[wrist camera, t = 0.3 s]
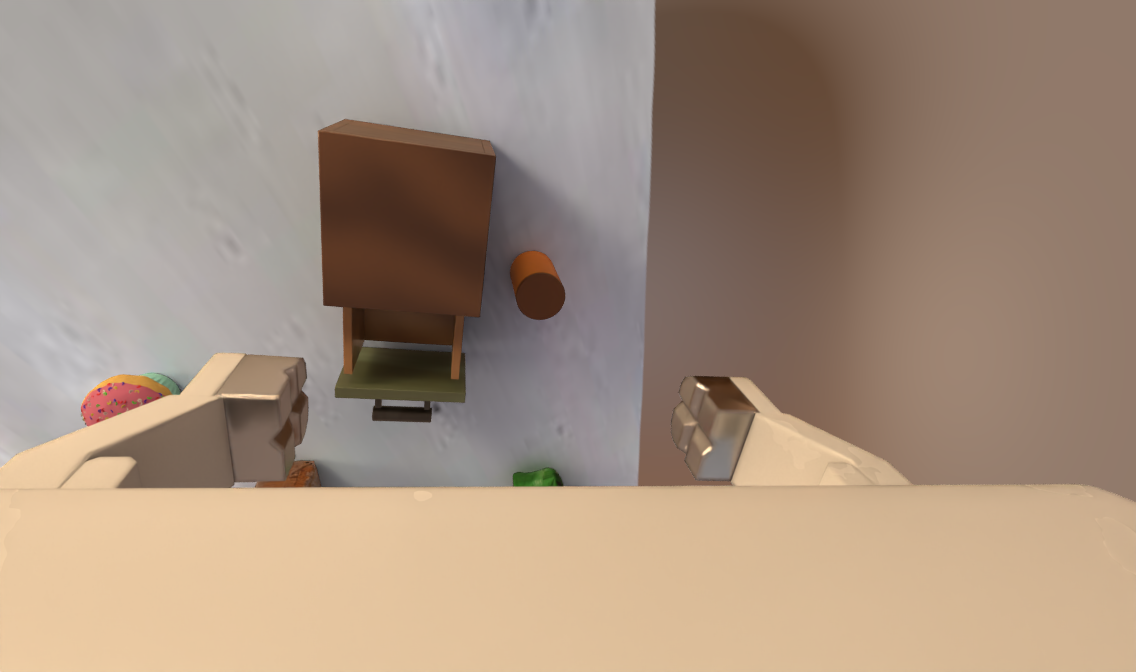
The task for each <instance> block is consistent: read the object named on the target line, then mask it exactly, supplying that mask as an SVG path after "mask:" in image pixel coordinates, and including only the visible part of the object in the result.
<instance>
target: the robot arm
mask: <svg viewBox="0 0 1136 672" xmlns="http://www.w3.org/2000/svg"><path fill="white" fill-rule="evenodd" d="M306 379H307V372H306V363H305V361H304V358H299V357H284V356H268V355H252V354H248V355H247V354H244V353H216V354H214V355H213V356H212V358H211V359H210V360H209V361H208V362H207V363H206V365H205V366H204V367H203V368H202V369H201V370H200V372H199V373H198V374H197V375H196V376H195V377H194V379H193V380H192V381H191V382H190V383H189V384H188V385H187V387H186V388H185V389H184V390H183V391H182V392H181V394H180V395H168V396H166V397H163V398H161V399H158V400H155V401H153V402H150V403H148V404H145V405H142V406H140V407H137V408H135V409H132V410H130V411H127V412H124V413H122V414H119V415H117V416H114V417H111V418H109V419H106V420H104V421H101V422H99V423H96V424H93V425H91V426H88V427H86V428H83V429H80V430H78V431H75V432H73V433H70V434H67V435H65V436H62V437H60V438H57V439H55V440H52V441H49V442H47V443H44V444H42V445H39V446H36V447H34V448H31V449H29V450H26V451H24V452H21V453H18V454H16V455H15V456H14V457H13V458H12V459H11V460H10V461H8V462H7V463H6V464H5V465H4V466H3V467H2V468H0V672H1136V502H1133V501H1131V500H1129V499H1126V498H1124V497H1121V496H1119V495H1116V494H1114V493H1111V492H1109V491H1106V490H1103V489H1100V488H1097V487H1093V486H1088V485H1079V484H1047V485H1046V484H1042V485H1041V484H1039V485H913V484H912V483H911V482H909V480H907V479H906V478H905V477H904V476H903V475H902V474H901V473H900V472H899V471H898V470H896V469H895V468H894V467H893V466H892V465H891V464H890V463H889V462H888V461H885V460H884V459H881V458H879V457H877V456H875V455H873V454H871V453H869V452H867V451H865V450H863V449H860V448H858V447H856V446H854V445H852V444H850V443H848V442H846V441H844V440H842V439H840V438H838V437H835V436H833V435H831V434H829V433H827V432H825V431H823V430H821V429H819V428H816V427H814V426H812V425H810V424H808V423H806V422H804V421H802V420H799V419H798V418H796V417H794V416H791V415H789V414H782V413H781V412H780V411H779V410H778V409H777V408H776V407H775V406H774V404H773V403H772V402H771V401H770V400H769V399H768V398H767V397H766V396H765V395H764V394H763V393H762V392H761V391H760V390H759V389H758V388H757V386H756V385H755V384H754V383H753V382H752V381H751V380H750V379H748V378H745V377H709V376H704V377H703V376H688V377H685V378H684V379H683V381H682V383H681V385H680V389H679V395H680V397H681V399H682V402H681V403H679V404H678V405H677V406H676V407H675V408H674V410H673V414H672V419H671V434H672V438H673V441H674V443H675V445H676V447H677V448H678V449H679V450H681V451H683V452H684V453H686V457H685V463H686V464H687V466H688V468H689V469H690V471H691V473H692V475H693V476H694V478H695V480H702V481H731V483H732V484H733V485H734V486H549V487H298V488H230V487H232V486H233V485H234V482H263V481H286V479H287V476H288V474H289V472H290V469H291V467H292V465H293V462H294V460H295V447H296V446H297V445H299V444H301V443H302V441H303V438H304V435H305V432H306V427H307V422H308V409H309V407H308V397H307V395H306V394H305V393H304V392H303V391H302V387H303V385H304V383H305V381H306Z"/></svg>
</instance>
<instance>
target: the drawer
mask: <svg viewBox="0 0 1136 672" xmlns="http://www.w3.org/2000/svg"><path fill="white" fill-rule="evenodd" d="M463 326H464V316H455V315H442V314H429V313H415V312H402V311H389V310H376V309H362V308H349V307H343V344H344V366H343V368H342V371H341V373H340V376H339V379H338V381H337V384H336V386H335V397H336V398H360V399H375V406H374V407H373V413H372V420H373V421H399V422H431V415H432V408H430V401H436V402H461V403H465V395H466V384H465V353H461V349H462V337H463ZM364 340H373V341H389V342H404V343H420V344H436V345H452V352H439V351H422V350H406V349H389V348H373V347H362V346H363V343H364ZM382 399H385V400H410V401H425V403H424V407H401V406H382Z"/></svg>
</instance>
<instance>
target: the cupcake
mask: <svg viewBox="0 0 1136 672" xmlns="http://www.w3.org/2000/svg"><path fill="white" fill-rule="evenodd" d="M168 395H180V390H179V388H178V386H177V385H176V384H175V382H173V381H172V380H171V379H169V378H168V377H166V376H163V375H160V374H155V373H147V374H142V375H139V376H134V375H117V376H114V377H111V378H109V379H107V380H105V381H103V382H101V383H100V384H99V385H97V386H96V387H95V388H94V389H93V390H91V391H90V392H89V393H88V395H87V396H86V397H85V399H84V401H83V403H82V406H81V412H82V414H81V417H82V416H83V417H84V418H83V421H85V425H86V424H87V426H91V425H93V424H96V423H99V422H101V421H104V420H106V419H109V418H111V417H114V416H117V415H119V414H122V413H124V412H127V411H130V410H132V409H135V408H137V407H140V406H142V405H145V404H148V403H150V402H153V401H155V400H158V399H161V398H163V397H166V396H168Z"/></svg>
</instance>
